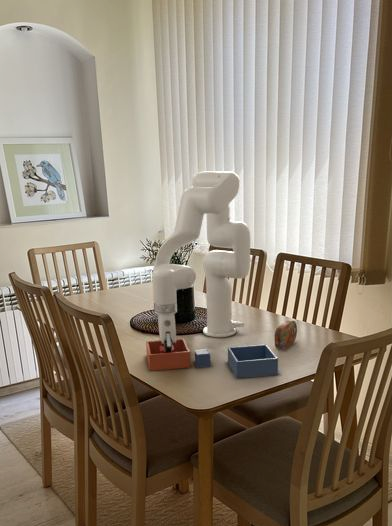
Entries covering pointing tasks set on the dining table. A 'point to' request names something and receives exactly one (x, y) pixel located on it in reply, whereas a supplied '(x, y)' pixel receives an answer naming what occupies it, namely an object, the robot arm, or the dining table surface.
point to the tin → (285, 335)
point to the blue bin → (252, 361)
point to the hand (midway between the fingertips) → (167, 359)
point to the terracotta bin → (168, 356)
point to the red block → (163, 349)
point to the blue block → (202, 358)
